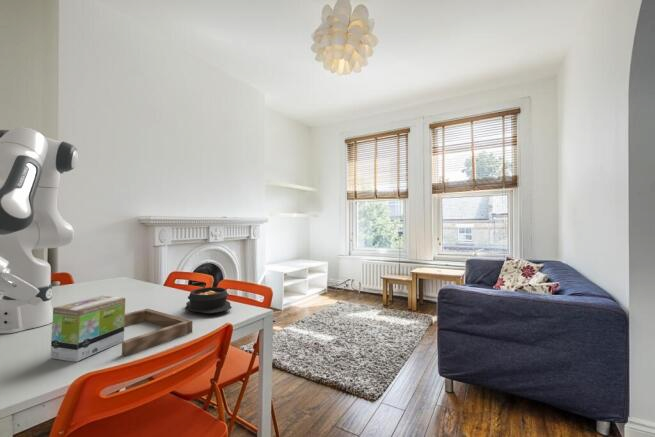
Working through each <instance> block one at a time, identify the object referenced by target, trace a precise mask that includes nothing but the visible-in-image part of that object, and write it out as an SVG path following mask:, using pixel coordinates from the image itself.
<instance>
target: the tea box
mask: <svg viewBox="0 0 655 437" xmlns="http://www.w3.org/2000/svg"><path fill="white" fill-rule="evenodd" d="M52 310H53V321H52V325H51V343H50V358H51V359H55V360H58V361H59V360H60V361H66V362H67V361H68V362H74V363H78V362H80V361H81V360H84V359H86V358H89V357H91V356H92V355H95V354H98V353H99V352H102V351H104V350H106V349H110V348H111V347H114V346H116V345H120V344H122V341H125V327H124V323H125V314H126V297H120V296H109V295H108V296H107V295H100V296H95V297H90V298H87V299H84V300H79V301H75V302H71V303H66V304H63V305H58V306H55V307H52Z"/></svg>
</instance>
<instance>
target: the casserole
mask: <svg viewBox="0 0 655 437" xmlns="http://www.w3.org/2000/svg"><path fill="white" fill-rule="evenodd" d="M228 296H229V293H228V291H227V288H224V287H216V286H215V287H213V286H212V287H210V286H209V287H202V288H197V289H193V290H192V291H190V293H189V295H188V296H187V299H188V301H187V302H186V304H185V305H186V306H185V310H187V311H189V312H194V313H198V314H199V313H200V314H219V313H222V312H225V311H226V312H227V311H229V310H231V309H232V308H233V307H232V306H231V302H230V301H228V300H227V298H228Z"/></svg>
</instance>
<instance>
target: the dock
mask: <svg viewBox="0 0 655 437" xmlns="http://www.w3.org/2000/svg"><path fill="white" fill-rule="evenodd" d="M142 322H148V323H152V324H154V325H158V326H161V327H163V328H160V329H157V330H154V331H150V332H147V333H144V334H140V335H138V336H135V337H132V338H129V339H124V341H122V343H121V356H124V357H126V358H127V356H130V355H133V354H134V355H135V354H136V353H139V352H142V351H145V350H147V349H150V348H153V347H155V346H158V345H160V344H164V343H167V342H169V341H171V340H174V339H177V338H181V337H183V336H185V335H189V334H191V333H193V323H194V322H193V320H191V319H187V318H183V317H181V316H180V317H179V316H176V315H174V314H169V313H165V312H161V311H159V310H154V309H150V308H144V309H140V310H136V311H132V312H127V313H125V323H124V328H125V327H128V326H132V325H135V324H138V323H142Z"/></svg>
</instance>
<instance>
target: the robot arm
mask: <svg viewBox="0 0 655 437" xmlns="http://www.w3.org/2000/svg"><path fill="white" fill-rule="evenodd" d="M78 162H79V153H78V150H77V148H76V146H75V145H73V144H71V143H69V142H66V141H60V140H57V139H53V138H50V137H48V136H44V135H43V133H41V132H39V131H37V130H35V129H33V128H31V127H30V128H29V127H26V126H25V127H23V126H21V127H20V126H19V127H14V128H12V129H10V130H8V129H0V180H1V181H2V183H1V185H0V296H2V299H0V334H13V333H17V332H22V331H26V330H31V329H35V328H38V327H39V328H40V327H43V326H46V325H49V324H51V323H52V321H53V306H52V305H53V304H52V298H53V284H52V283H51V282H52V281H51V280H52V271H51V270H52V267H51V264H50V263H49V261H46V260H44V259H41V258H38V257H35V256H34V255H33V250H42V249H43V250H44V249H55V248H60V247H64V246H68V245H70V244H71V243H72V242H73V241H74V239H75V230H74V227H73V225H71V224H70V223H69V221H66V220H65V219H64V218H63V217H62V215H61V214H60V212H59V208H58V204H59V202H58V201H59V199H58V198H59V191H60V184H61V183H60V182H61V174H64V173H66V172H70V171H72V170H74V169H75V167H76V166H77V164H78Z"/></svg>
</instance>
